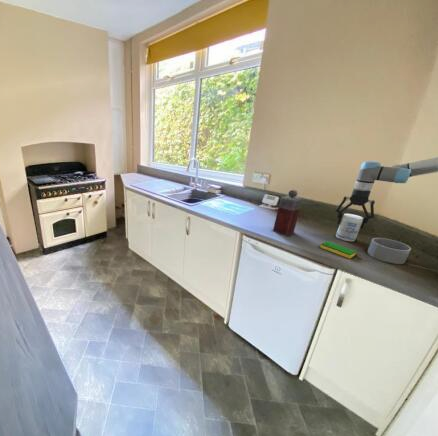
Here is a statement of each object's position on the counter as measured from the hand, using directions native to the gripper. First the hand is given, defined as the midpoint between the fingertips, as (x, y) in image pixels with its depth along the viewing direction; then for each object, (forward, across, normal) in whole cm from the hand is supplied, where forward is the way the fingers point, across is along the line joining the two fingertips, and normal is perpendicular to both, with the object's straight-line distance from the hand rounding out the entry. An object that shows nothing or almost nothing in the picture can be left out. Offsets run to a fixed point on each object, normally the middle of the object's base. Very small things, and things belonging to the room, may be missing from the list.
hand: (349, 225), depth 141 cm
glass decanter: (+9, -31, -14) cm, 35 cm away
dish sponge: (+9, -3, -24) cm, 26 cm away
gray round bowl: (+9, +17, -14) cm, 24 cm away
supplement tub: (+9, 0, 0) cm, 9 cm away
